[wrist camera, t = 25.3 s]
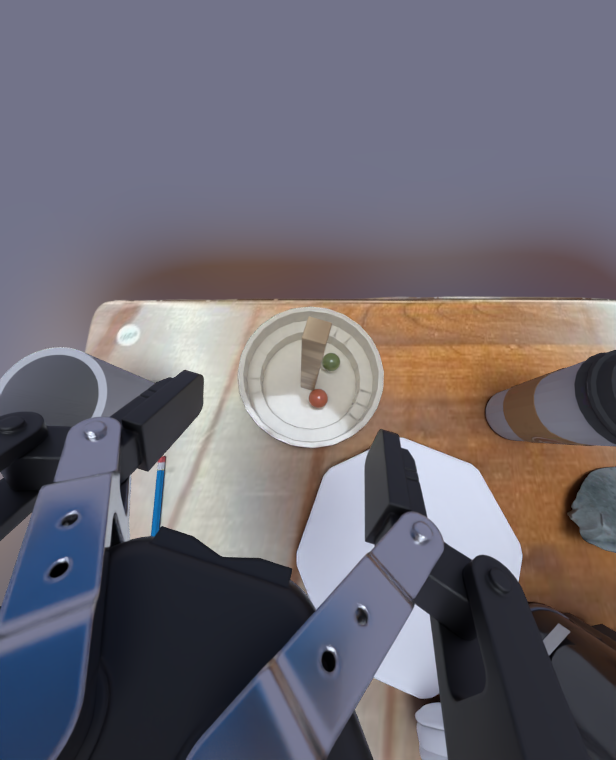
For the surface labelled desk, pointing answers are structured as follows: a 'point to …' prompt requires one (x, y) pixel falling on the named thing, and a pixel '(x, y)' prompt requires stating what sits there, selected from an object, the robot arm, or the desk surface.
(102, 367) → the cup
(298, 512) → the desk surface
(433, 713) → the headphones
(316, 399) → the bead terracotta
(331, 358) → the bead olive
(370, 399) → the bowl
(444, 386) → the desk surface
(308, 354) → the stick
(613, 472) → the stone
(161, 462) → the pencil
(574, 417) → the coffee cup
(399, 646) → the plate
